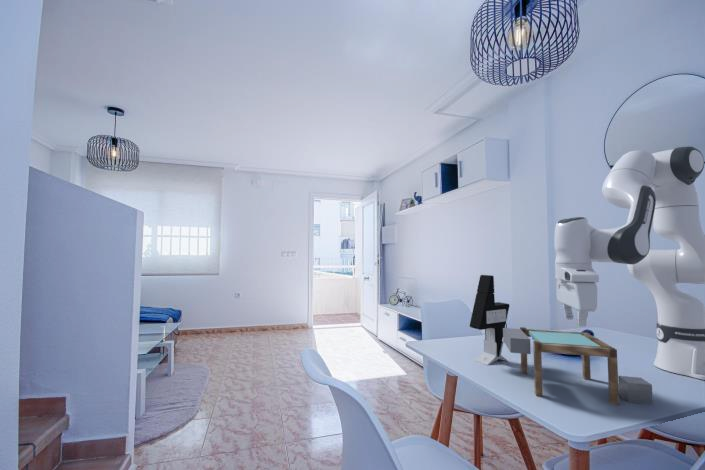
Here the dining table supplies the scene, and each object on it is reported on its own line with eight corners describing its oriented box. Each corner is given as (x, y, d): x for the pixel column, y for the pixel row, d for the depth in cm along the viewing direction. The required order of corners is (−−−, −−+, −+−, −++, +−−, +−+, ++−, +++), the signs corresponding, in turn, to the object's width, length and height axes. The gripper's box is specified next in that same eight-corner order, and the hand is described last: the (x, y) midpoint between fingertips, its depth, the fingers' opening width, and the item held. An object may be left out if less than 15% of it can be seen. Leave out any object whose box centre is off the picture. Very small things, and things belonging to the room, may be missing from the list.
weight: (641, 397, 86) (640, 377, 87) (652, 405, 82) (651, 384, 82) (619, 394, 88) (618, 375, 88) (628, 402, 83) (627, 382, 83)
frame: (588, 377, 99) (586, 331, 100) (619, 404, 82) (616, 347, 82) (521, 371, 104) (520, 327, 105) (536, 395, 87) (534, 342, 88)
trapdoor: (580, 345, 98) (580, 332, 99) (601, 360, 85) (601, 344, 85) (502, 340, 104) (502, 327, 105) (511, 353, 91) (510, 338, 91)
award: (481, 366, 109) (479, 276, 111) (469, 361, 114) (467, 275, 116) (511, 359, 116) (509, 274, 118) (499, 355, 121) (497, 274, 123)
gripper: (550, 271, 105) (551, 315, 104) (573, 275, 85) (575, 329, 84) (572, 271, 103) (574, 316, 102) (601, 276, 83) (604, 331, 83)
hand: (575, 322), depth 93 cm, fingers open, 8 cm apart
